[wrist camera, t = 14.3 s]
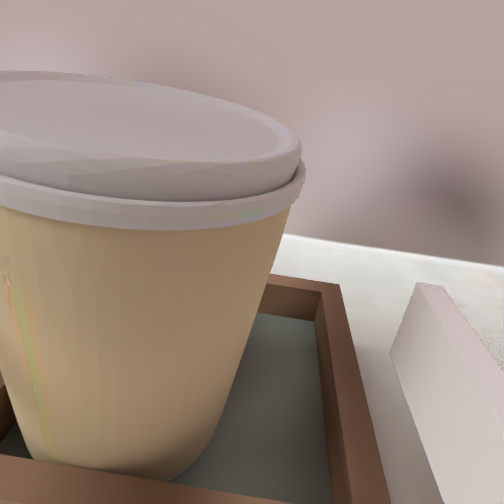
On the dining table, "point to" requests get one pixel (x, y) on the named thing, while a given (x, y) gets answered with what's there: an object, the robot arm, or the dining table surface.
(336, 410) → the wooden tray
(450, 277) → the dining table surface
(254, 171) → the coffee cup
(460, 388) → the robot arm
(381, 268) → the dining table surface
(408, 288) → the dining table surface
